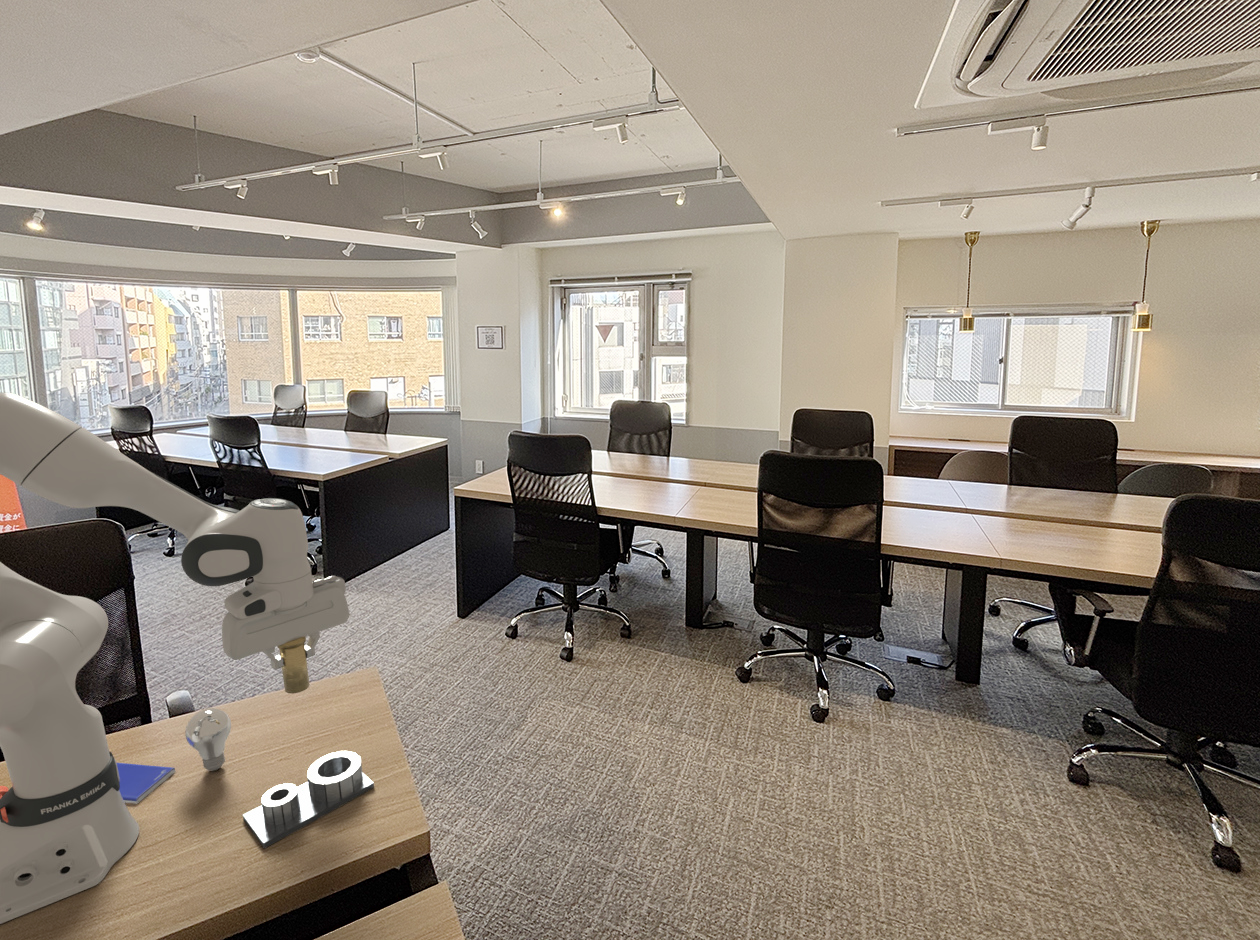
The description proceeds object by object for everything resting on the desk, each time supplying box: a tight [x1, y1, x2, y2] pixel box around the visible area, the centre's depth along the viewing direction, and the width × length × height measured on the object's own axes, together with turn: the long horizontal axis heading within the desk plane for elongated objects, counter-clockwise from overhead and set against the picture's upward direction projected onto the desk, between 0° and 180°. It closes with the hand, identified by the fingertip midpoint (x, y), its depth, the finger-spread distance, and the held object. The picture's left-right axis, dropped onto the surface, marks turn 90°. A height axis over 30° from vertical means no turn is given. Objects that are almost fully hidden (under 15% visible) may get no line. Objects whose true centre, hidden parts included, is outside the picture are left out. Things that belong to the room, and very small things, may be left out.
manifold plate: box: [242, 750, 375, 849], centre depth 109 cm, size 18×9×4 cm, turn 138°
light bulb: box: [184, 707, 232, 772], centre depth 117 cm, size 7×7×12 cm
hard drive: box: [116, 762, 176, 805], centre depth 115 cm, size 2×8×12 cm
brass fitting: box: [276, 636, 310, 694], centre depth 115 cm, size 5×5×10 cm
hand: (293, 661), depth 115 cm, fingers closed on brass fitting, 4 cm apart
